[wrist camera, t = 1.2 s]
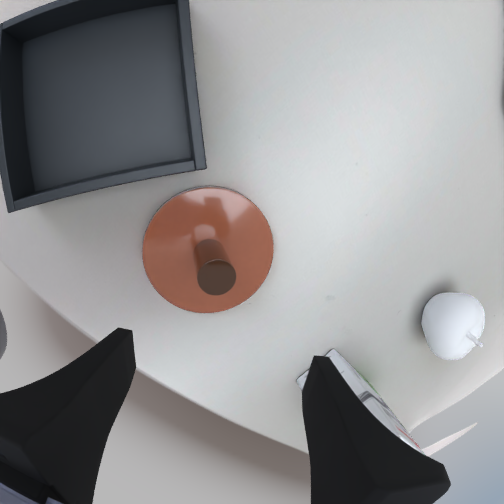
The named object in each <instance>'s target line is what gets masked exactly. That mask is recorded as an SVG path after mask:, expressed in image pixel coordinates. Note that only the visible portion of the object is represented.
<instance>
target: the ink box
mask: <svg viewBox="0 0 504 504" xmlns="http://www.w3.org/2000/svg"><path fill="white" fill-rule="evenodd" d="M325 357H329V358H330V359H331V361H332V362H333V364H334V365H335V366H336V368H337V369H338V371H339V372H340V374H341V375H342V376H343V378H344V379H345V381H346V382H347V384H348V385H349V386H350V388H351V389H352V390H353V391H354V393H355V394H356V395H357V397H358V398H359V399H360V400H361V402H362V403H363V404H364V405H365V406H366V407H367V408H368V410H369V411H370V412H371V413H372V414H373V415H374V416H375V417H376V418H377V419H378V420H379V421H380V422H381V423H382V424H383V425H384V426H385V427H387V428H388V429H389V430H390V431H391V432H392V433H394V434H395V435H396V436H397V437H399V438H400V439H401V440H403V441H404V442H405V443H407V444H408V445H410V446H411V447H413V448H414V449H416V450H417V451H419V452H421V453H422V454H424V453H423V451H422V450H421V449H420V447H419V446H418V445H417V443H416V442H415V441H414V440H413V438H412V437H411V436H410V434H409V433H408V432H407V430H406V429H405V428H404V427H403V425H402V424H401V423H400V421H399V420H398V419H397V418H396V416H395V415H394V414H393V412H392V411H391V410H390V408H389V407H388V406H387V405H386V403H385V402H384V401H383V399H382V398H381V397H380V396H379V394H378V393H377V392H376V391H375V389H374V388H373V387H372V386H371V384H370V383H368V382H367V381H366V380H365V379H364V378H363V377H362V376H361V375H360V374H359V373H358V372H357V371H356V370H355V369H354V368H353V367H352V366H351V365H350V364H349V363H348V362H347V361H346V360H345V359H344V358H343V357H342V356H341V355H340V354H339V353H338V352H337V351H336V350H335V349H332V350H331V351H330V352H329V353H328V354H327V355H326V356H325ZM308 372H309V370H308V371H306V372H305V373H304V374H303V375H301V376H300V377H299V378H298V379H297V383H298V385H299V387H300V389H301V390H302V389H303V387H304V384H305V381H306V378H307V375H308ZM424 455H425V454H424Z"/></svg>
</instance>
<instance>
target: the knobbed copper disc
mask: <svg viewBox="0 0 504 504" xmlns="http://www.w3.org/2000/svg"><path fill="white" fill-rule="evenodd" d="M273 251H274V250H273V237H272V233H271V229H270V226H269V224H268V222H267V220H266V218H265V217H264V215H263V213H262V212H261V211H260V210H259V208H258V207H257V206H256V205H255V204H254V203H252V202H251V201H250V200H249V199H247V198H246V197H244V196H243V195H241V194H240V193H237V192H235V191H233V190H230V189H227V188H223V187H217V186H202V187H195V188H191V189H188V190H185V191H183V192H180V193H178V194H177V195H175V196H173V197H172V198H170V199H169V200H167V201H166V202H165V203H164V204H163V205H162V206H161V207H160V208H159V209H158V210H157V212H156V213H155V214H154V216H153V217H152V219H151V221H150V222H149V225H148V227H147V230H146V233H145V237H144V240H143V248H142V255H143V263H144V268H145V271H146V274H147V276H148V278H149V280H150V282H151V284H152V285H153V287H154V288H155V289H156V291H157V292H158V293H159V294H160V295H161V296H162V297H163V298H164V299H166V300H167V301H169V302H170V303H171V304H173V305H175V306H177V307H179V308H182V309H184V310H187V311H192V312H198V313H214V312H220V311H224V310H227V309H230V308H233V307H235V306H237V305H239V304H241V303H242V302H244V301H245V300H247V299H248V298H249V297H250V296H252V295H253V294H254V293H255V292H256V291H257V290H258V288H259V287H260V286H261V284H262V283H263V282H264V280H265V278H266V276H267V274H268V272H269V269H270V267H271V263H272V259H273Z"/></svg>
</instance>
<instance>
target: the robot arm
mask: <svg viewBox="0 0 504 504" xmlns="http://www.w3.org/2000/svg"><path fill="white" fill-rule="evenodd" d="M135 369H136V362H135V353H134V344H133V333H132V330H128V329H123V328H117V329H116V330H114V331H113V332H112V333H110V334H109V335H108V336H107V337H105V338H104V339H103V340H101V341H100V342H99V343H98V344H96V345H95V346H94V347H92V348H91V349H90V350H89V351H87V352H86V353H84V354H83V355H81V356H80V357H79V358H77V359H76V360H74V361H73V362H71V363H70V364H68V365H67V366H65V367H63V368H62V369H60V370H58V371H56V372H55V373H53V374H51V375H49V376H47V377H45V378H43V379H40V380H38V381H36V382H33V383H31V384H29V385H26V386H24V387H21V388H18V389H15V390H11V391H8V392H4V393H0V504H92V502H93V496H94V490H95V485H96V480H97V475H98V471H99V467H100V463H101V459H102V455H103V451H104V448H105V445H106V442H107V438H108V435H109V433H110V430H111V428H112V426H113V423H114V421H115V419H116V417H117V414H118V412H119V410H120V408H121V406H122V404H123V402H124V399H125V397H126V395H127V393H128V391H129V388H130V385H131V382H132V379H133V376H134V373H135ZM302 408H303V418H304V425H305V431H306V437H307V443H308V450H309V456H310V465H311V504H433V503H434V502H435V501H436V500H438V499H439V498H440V497H441V496H443V495H444V494H445V493H446V492H447V491H448V489H449V487H450V485H451V483H450V480H449V478H448V475H447V472H446V470H445V467H444V465H443V464H441V463H439V462H437V461H435V460H433V459H431V458H430V457H428V456H426V455H424V454H422V453H421V452H419V451H417V450H416V449H414V448H413V447H411V446H410V445H408V444H407V443H405V442H404V441H403V440H401V439H400V438H399V437H397V436H396V435H395V434H394V433H392V432H391V431H390V430H389V429H388V428H387V427H385V426H384V425H383V424H382V423H381V422H380V421H379V420H378V419H377V418H376V417H375V416H374V415H373V414H372V413H371V412H370V411H369V410H368V408H367V407H366V406H365V405H364V404H363V403H362V402H361V400H360V399H359V398H358V397H357V395H356V394H355V393H354V391H353V390H352V389H351V388H350V386H349V385H348V384H347V382H346V381H345V379H344V378H343V376H342V375H341V374H340V372H339V371H338V369H337V368H336V366H335V365H334V364H333V362H332V361H331V359H330V358H329V357H325V356H314V357H313V360H312V363H311V366H310V369H309V372H308V375H307V378H306V381H305V384H304V387H303V389H302Z"/></svg>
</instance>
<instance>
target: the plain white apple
mask: <svg viewBox="0 0 504 504" xmlns="http://www.w3.org/2000/svg"><path fill="white" fill-rule="evenodd" d="M421 324H422V328H423V331H424V334H425V337H426V340H427V343H428V346H429V348H430V349H431V351H432V352H433V353H434V354H435V355H436V356H437V357H439V358H441V359H445V360H458V359H461V358H463V357H464V356H465V355H467V354H468V352H470V351H471V350H472V349H473V348H474V347H475V345H478V346H480V347H482V346H483V343H482V342H480V341H479V338H480V336H481V334H482V332H483V330H484V324H485V313H484V309H483V307H482V305H481V304H480V302H479V301H478V300H477V299H476V298H475V297H473V296H471V295H470V294H467V293H459V292H458V293H440V294H437V295H435V296H433V297H432V298H431V299H430V300H429V302H428V303H427V304H426V306H425V308H424V311H423V316H422V321H421Z"/></svg>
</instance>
